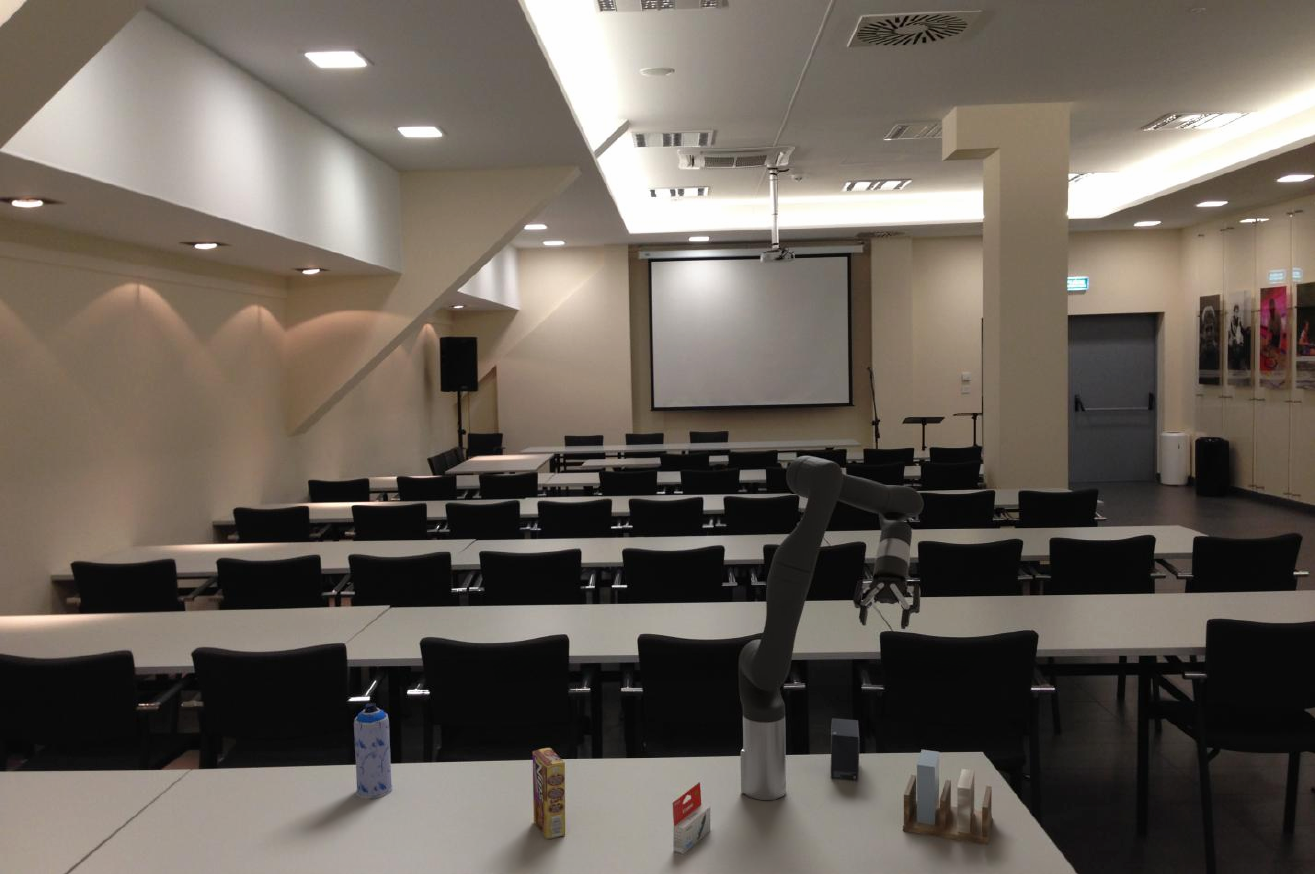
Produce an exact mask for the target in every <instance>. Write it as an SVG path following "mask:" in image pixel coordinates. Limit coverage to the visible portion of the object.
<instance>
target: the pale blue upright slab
mask: <svg viewBox="0 0 1315 874" xmlns="http://www.w3.org/2000/svg"><path fill="white" fill-rule="evenodd" d="M916 801H917V822H918V823H924V824H931V825H935V823H936V819H937V815H938V810H939V805H940V751H936V750H927V749H921V751H920V754H919V757H918V761H917V763H916Z"/></svg>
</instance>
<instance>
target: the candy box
mask: <svg viewBox="0 0 1315 874" xmlns="http://www.w3.org/2000/svg"><path fill="white" fill-rule="evenodd" d="M565 767H566V765H565V761H564V760H563V759H562V758H561V757H560V756H559V755H558V754H557V753H556V752H555V751H554V750H553V749H552V748H551V747H545V748H540V749H535V750H533V751H532V793H533V794H532V797H533V799H532V801H533V802H532V803H533V805H532V806H533V807H532V808H533V823H534V824H535V826H537V828H538V829H539V831H540V832H541V833H542V835H544V837H545V838H546V840H550V839H555V838H556V839H557V838H560V837H562V836H563V837H564V836H566V778H565V777H566V768H565Z"/></svg>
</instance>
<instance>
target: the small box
mask: <svg viewBox="0 0 1315 874" xmlns="http://www.w3.org/2000/svg"><path fill="white" fill-rule="evenodd" d="M859 729H860V728H859V720H858V719H857V720H856V719H844V718H833V717H832V718H831V730H830V779H832V780H833V779H834V780H848V781H858V780H859V771H860V731H859Z"/></svg>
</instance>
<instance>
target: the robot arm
mask: <svg viewBox="0 0 1315 874" xmlns="http://www.w3.org/2000/svg"><path fill="white" fill-rule="evenodd" d="M785 475H786V477H785V478H786V484H787V486H788V488H789V489H790V491H792V493H794V494H796V495H797V496H798V497H802V498H805V499H807V502H806V505H805V509H804V512H803V514H802V517H801V519H800V521H799V523H798V524H797V525H796V527H795V528H794V529H793V530H792V531H791V532H790V533H789V534H788V535H787V536H786V538H785V539H784V540H783V541H782V542H781V543H780V544H779V546H778V547H777V548H776V550H775V553H774V554H773V558H772V561H771V565H770V568H769V572H768V576H767V578H766V579H767V580H766V589H765V591H766V592H765V593H766V594H765V596H766V597H765V600H766V601H765V603H766V604H765V607H766V608H765V609H766V613H765V615H766V617H765V624H764V628H763V632H762V635H761V638H760V639H753V640H751V641H750V642H748V643H747V644H745V645H744V646H743V648H742V649H741V651H740V654H739V657H738V687H739V699H740V703H741V707H742V734H743V736H742V740H743V741H742V744H743V746H742V749H741V750H740V753H739V754H740V793H741V794H743V793H745V794H744V795H746V794H747V795H746V796H748V797H750V798H752V799H755V800H762V801H763V800H764V801H770V800H771V801H773V800H776V799H777V800H778V799H779V798H782V797H784V796H785V795H786V793H787V769H786V768H787V764H786V763H787V761H786V757H787V756H786V752H787V751H786V750H787V749H786V705H785V701H784V699H783V698H782V693H781V690H780V687H782V686H783V684H784V683H785V682H786V680H787V678H788V676H789V673H790V670H791V664H792V659H793V653H794V648H795V642H796V641H795V640H796V636H797V632H798V628H799V627H798V626H799V623H800V621H801V618H802V614H803V611H804V607H805V603H806V599H807V595H808V594H809V593H808V592H809V591H810V590H809V589H810V587H811V583H812V579H813V577H814V572H815V568H816V563H817V560H818V556H819V553H820V551H821V550H820V549H821V546H822V543H823V540H824V537H825V533H826V531H827V528H828V525H829V522H830V520H831V518H832V514H833V513H834V509H835V507H836V505H837V502H841V503H844V504H846V505H849V506H852V507H854V508H857V509H861V510H863V511H866V512H869V513H873V514H877V515H878V517H879V518H878V519H879V526H880V536H879V543H878V547H877V550H876V556H875V561H874V567H873V574H872V579H871V581H870V583H869V582H868V583H867V582H863V580H862V579H859V580H857V582H856V587H855V590H854V595H853V598H852V602H853V606H854V608H855V609H859V615H858V619H859V622H860V623H861V625H862V626H867V619H868V613H869V609H871V608H872V607H875V606H876V605H877V604H878V603H879V604H890V605H895V604H898V606H899V607H900V609H902V612H901V618H900V619H901V621H900V628H901V629H902V630H906V628H908V627H909V625H910V618H911V615H912V614H914V613H915V614H919V613H920V608H921V588H920V585H919V584H918V583H915V584H914V585H907V584H908V583H907V582H908V576H909V568H910V565H911V560H910V559H911V545H912V544H911V543H912V537H913V530H912V527H911V526H910V525H909V524H908V523H907V522H905V520H909V519H912V518H914V517H917V516H919V515H920V514H921V513H922V511H923V509H924V499H923V496H922V495H921V493H920V492H918V490H916V489H915V488H913V487H911V486H907V485H905V486H904V485H894V484H892V485H891V484H890V485H889V484H888V485H887V484H884V483H880V482H878V481H875V480H872V479H867V478H864V477H859V476H854V475H850V474H846V473H843V469H842V468H841V466H840V465H839V464H838V463H837V462H835V461H832V460H828V459H825V458H820V457H818V456H817V457H816V456H811V455H802V456H799V457H798V456H797V457H796V458H795V459H794V460H792V461H791V463H789V465H788V467H787V470H786V474H785ZM868 590H869V591H870V592H869V593H868V594H867V595H866V597H865V598H864V599H863V594H865V593H866V592H867V591H868ZM908 593H909V594H910V596H912V604H909V603H908V601H907V600H906V598H905V596H906V595H907V594H908ZM862 599H863V600H862Z"/></svg>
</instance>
